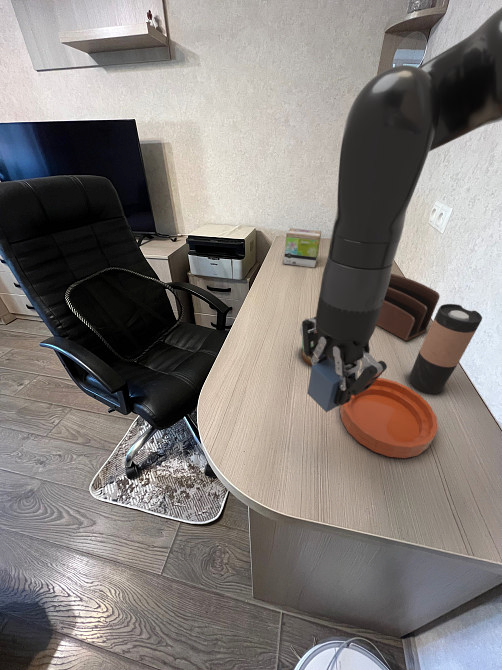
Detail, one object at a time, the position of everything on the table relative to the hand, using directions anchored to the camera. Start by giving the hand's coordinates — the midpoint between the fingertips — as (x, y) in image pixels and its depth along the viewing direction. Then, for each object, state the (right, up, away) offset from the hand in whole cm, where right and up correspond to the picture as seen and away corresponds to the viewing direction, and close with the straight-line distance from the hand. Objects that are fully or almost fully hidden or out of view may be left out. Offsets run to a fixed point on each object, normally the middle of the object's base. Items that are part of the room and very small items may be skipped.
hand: (328, 391), depth 44 cm
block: (0, -1, +1) cm, 1 cm away
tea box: (+12, +44, +91) cm, 102 cm away
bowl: (+16, -9, +15) cm, 23 cm away
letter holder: (+33, +13, +47) cm, 58 cm away
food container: (+4, +2, +30) cm, 31 cm away
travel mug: (+30, -3, +24) cm, 38 cm away
